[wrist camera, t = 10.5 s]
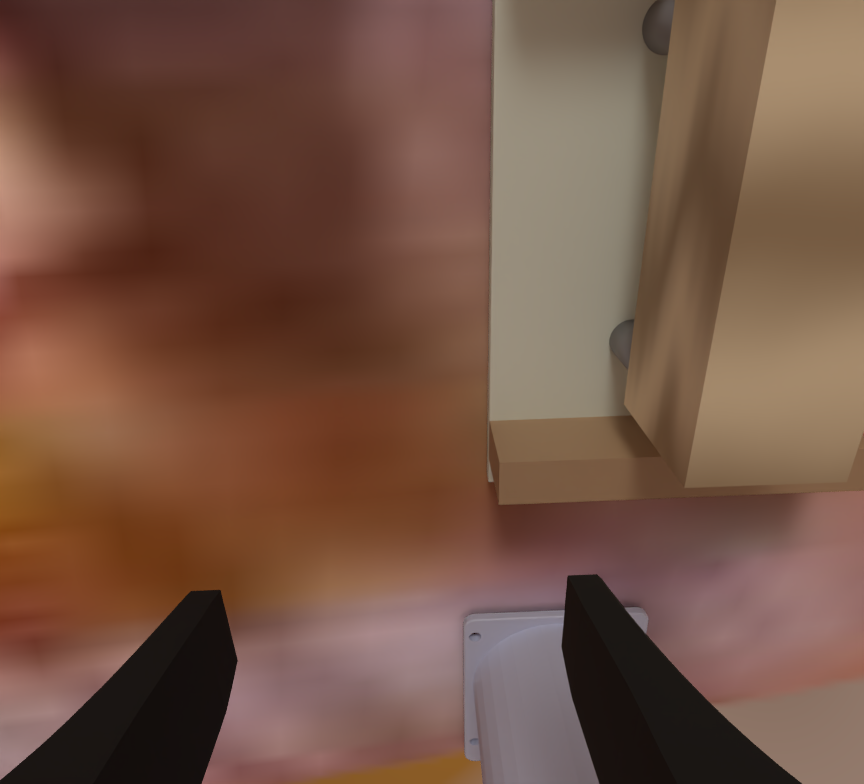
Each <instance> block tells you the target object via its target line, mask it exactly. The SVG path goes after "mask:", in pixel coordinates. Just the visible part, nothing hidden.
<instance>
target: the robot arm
mask: <svg viewBox="0 0 864 784" xmlns="http://www.w3.org/2000/svg"><path fill="white" fill-rule="evenodd" d="M647 626H648V616H647V614H646V612H645V610H644V609H642V608H639V607H626V608H624V607H623V606H622V604H621V603H620V602H619V601H618V599H617V598H616V597H615V595H614V594H613V593H612V592H611V590H610V589H609V588H608V586H607V585H606V584H605V582H604V581H603V580H602V579H601V578H600V577H599V576H598V575H597V574H596V575H572V576H568V578H567V589H566V600H565V610H554V611H530V612H506V613H482V614H471V615H469V616H467V617H466V618H465V619H464V621H463V674H464V751H465V757H466V758H467V759H469V760H471V761H481V769H482V778H483V784H802V783H800V782H799V781H798V780H797V779H795V778H794V777H793V776H792V775H790V774H789V773H788V772H787V771H785V770H784V769H783V768H782V767H780V766H779V765H778V764H777V763H776V762H774V761H773V760H772V759H771V758H770V757H769V756H767V755H766V754H765V753H764V752H763V751H761V750H760V749H759V748H758V747H757V746H756V745H754V744H753V743H752V742H751V741H750V740H749V739H748V738H747V737H746V736H744V735H743V734H742V733H741V732H740V731H739V730H738V729H737V728H736V727H735V726H734V725H732V724H731V723H730V722H729V721H728V720H727V719H726V718H725V717H724V716H723V715H722V714H721V713H720V712H719V711H718V710H717V709H716V708H715V707H714V706H713V705H712V704H711V703H710V702H708V701H707V700H706V699H705V698H704V696H703V695H702V694H701V693H700V692H699V691H698V690H697V689H696V688H695V687H694V686H693V685H692V684H691V683H690V682H689V681H688V680H687V679H686V678H685V677H684V676H683V675H682V674H681V673H680V672H679V671H678V669H677V668H676V667H675V666H674V665H673V664H672V663H671V662H670V661H669V660H668V658H667V657H666V656H665V655H664V654H663V653H662V652H661V651H660V649H659V648H658V647H657V646H656V645H655V644H654V643H653V642H652V640H651V639H650V638H649V637H648V636H647V635H646V632H647ZM472 633H478V634H472ZM237 661H238V660H237V656H236V652H235V648H234V644H233V640H232V636H231V632H230V628H229V623H228V619H227V615H226V611H225V607H224V603H223V599H222V595H221V591H220V590H208V591H191V592H190V593H189V594H188V595H187V596H186V597H185V598H184V599H183V600H182V601H181V602H180V603H179V604H178V605H177V607H176V608H175V609H174V610H173V611H172V612H171V613H170V614H169V615H168V616H167V618H166V619H165V620H164V621H163V622H162V623H161V624H160V625H159V626H158V628H157V629H156V630H155V631H154V632H153V633H152V634H151V635H150V636H149V637H148V639H147V640H146V641H145V642H144V643H143V644H142V645H141V646H140V647H139V648H138V650H137V651H136V652H135V653H134V654H133V655H132V656H131V657H130V658H129V659H128V660H127V661H126V662H125V663H124V664H123V665H122V666H121V668H120V669H119V670H118V671H117V672H116V673H115V674H114V675H113V676H112V677H111V678H110V679H109V680H108V681H107V682H106V683H105V684H104V685H103V686H102V687H101V688H100V689H99V690H98V691H97V692H96V693H95V694H94V695H93V696H92V697H91V698H90V699H89V700H88V701H87V702H86V703H85V704H84V705H83V706H82V707H81V708H80V709H79V710H78V711H77V712H76V713H75V714H74V715H73V716H72V717H71V718H70V719H69V720H68V721H67V722H66V723H65V724H64V725H63V726H62V727H60V728H59V729H58V730H57V731H56V732H55V733H54V734H53V735H52V736H51V737H50V738H49V739H47V740H46V741H45V742H44V743H43V744H42V745H41V746H40V747H39V748H37V749H36V750H35V751H34V752H33V753H32V754H31V755H29V756H28V757H27V758H26V759H25V760H24V761H22V762H21V763H20V764H19V765H18V766H17V767H15V768H14V769H13V770H12V771H11V772H10V773H8V774H7V775H6V776H5V777H4V778H2V779H1V780H0V784H202V781H203V778H204V775H205V772H206V769H207V766H208V763H209V761H210V758H211V755H212V752H213V749H214V746H215V743H216V740H217V737H218V734H219V732H220V729H221V726H222V723H223V720H224V717H225V714H226V710H227V706H228V702H229V697H230V693H231V689H232V684H233V680H234V675H235V670H236V665H237Z"/></svg>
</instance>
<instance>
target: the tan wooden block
mask: <svg viewBox="0 0 864 784" xmlns="http://www.w3.org/2000/svg"><path fill="white" fill-rule="evenodd" d="M624 405H625V407H626V408H627V409H628V411H629V412H630V414H631V415H632V416H633V418H634V419H635V420H636V422H637V423H638V425H639V426H640V427H641V429H642V430H643V432H644V433H645V434H646V436H647V437H648V438H649V440H650V441H651V443H652V444H653V445H654V447H655V448H656V450H657V451H658V452H659V454H660V455H661V456H662V458H663V459H664V461H665V462H666V463H667V465H668V466H669V468H670V469H671V470H672V472H673V473H674V474H675V476H676V477H677V479H678V480H679V481H680V483H681V484H682V485H683V487H684V488H700V487H728V486H755V485H782V484H810V483H837V482H847V480H848V477H849V474H850V471H851V468H852V465H853V462H854V459H855V456H856V453H857V450H858V447H859V444H860V441H861V438H862V435H863V432H864V0H675V4H674V12H673V20H672V28H671V35H670V43H669V51H668V59H667V67H666V75H665V83H664V91H663V99H662V107H661V114H660V122H659V130H658V138H657V146H656V154H655V162H654V170H653V178H652V186H651V193H650V201H649V209H648V217H647V225H646V233H645V241H644V249H643V257H642V265H641V272H640V280H639V288H638V296H637V304H636V312H635V320H634V328H633V336H632V343H631V351H630V359H629V367H628V375H627V383H626V391H625V399H624Z"/></svg>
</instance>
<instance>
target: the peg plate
mask: <svg viewBox="0 0 864 784" xmlns="http://www.w3.org/2000/svg"><path fill="white" fill-rule="evenodd" d="M674 4H675V0H492V71H491V159H490V247H489V335H488V423H487V476H488V481H489V482H494V485H495V490H496V495H497V499H498V504H499V505H511V504H536V503H561V502H586V501H611V500H636V499H661V498H686V497H711V496H736V495H761V494H786V493H811V492H836V491H861V490H864V436H862V438H861V441H860V444H859V447H858V450H857V453H856V456H855V459H854V462H853V465H852V468H851V471H850V474H849V477H848V480H847V482H837V483H810V484H782V485H755V486H728V487H700V488H684V487H683V485H682V484H681V483H680V481H679V480H678V479H677V477H676V476H675V474H674V473H673V472H672V470H671V469H670V468H669V466H668V465H667V463H666V462H665V461H664V459H663V458H662V456H661V455H660V454H659V452H658V451H657V450H656V448H655V447H654V445H653V444H652V443H651V441H650V440H649V438H648V437H647V436H646V434H645V433H644V432H643V430H642V429H641V427H640V426H639V425H638V423H637V422H636V420H635V419H634V418H633V416H632V415H631V414H630V412H629V411H628V409H627V408H626V407H625V405H624V399H625V391H626V383H627V375H628V367H629V359H630V351H631V343H632V336H633V328H634V320H635V312H636V304H637V296H638V288H639V280H640V272H641V265H642V257H643V249H644V241H645V233H646V225H647V217H648V209H649V201H650V193H651V186H652V178H653V170H654V162H655V154H656V146H657V138H658V130H659V122H660V114H661V107H662V99H663V91H664V83H665V75H666V67H667V59H668V51H669V43H670V35H671V28H672V20H673V12H674Z"/></svg>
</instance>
